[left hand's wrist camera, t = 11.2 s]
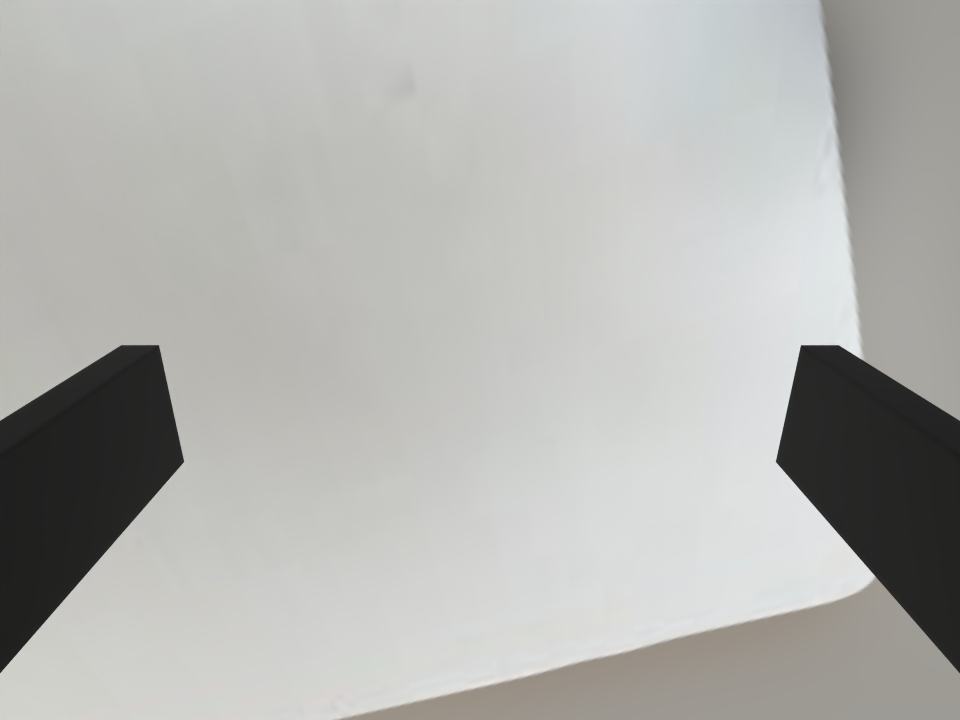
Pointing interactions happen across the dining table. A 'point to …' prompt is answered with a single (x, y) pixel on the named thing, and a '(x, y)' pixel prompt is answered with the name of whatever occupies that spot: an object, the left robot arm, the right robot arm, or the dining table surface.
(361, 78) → the dining table surface
